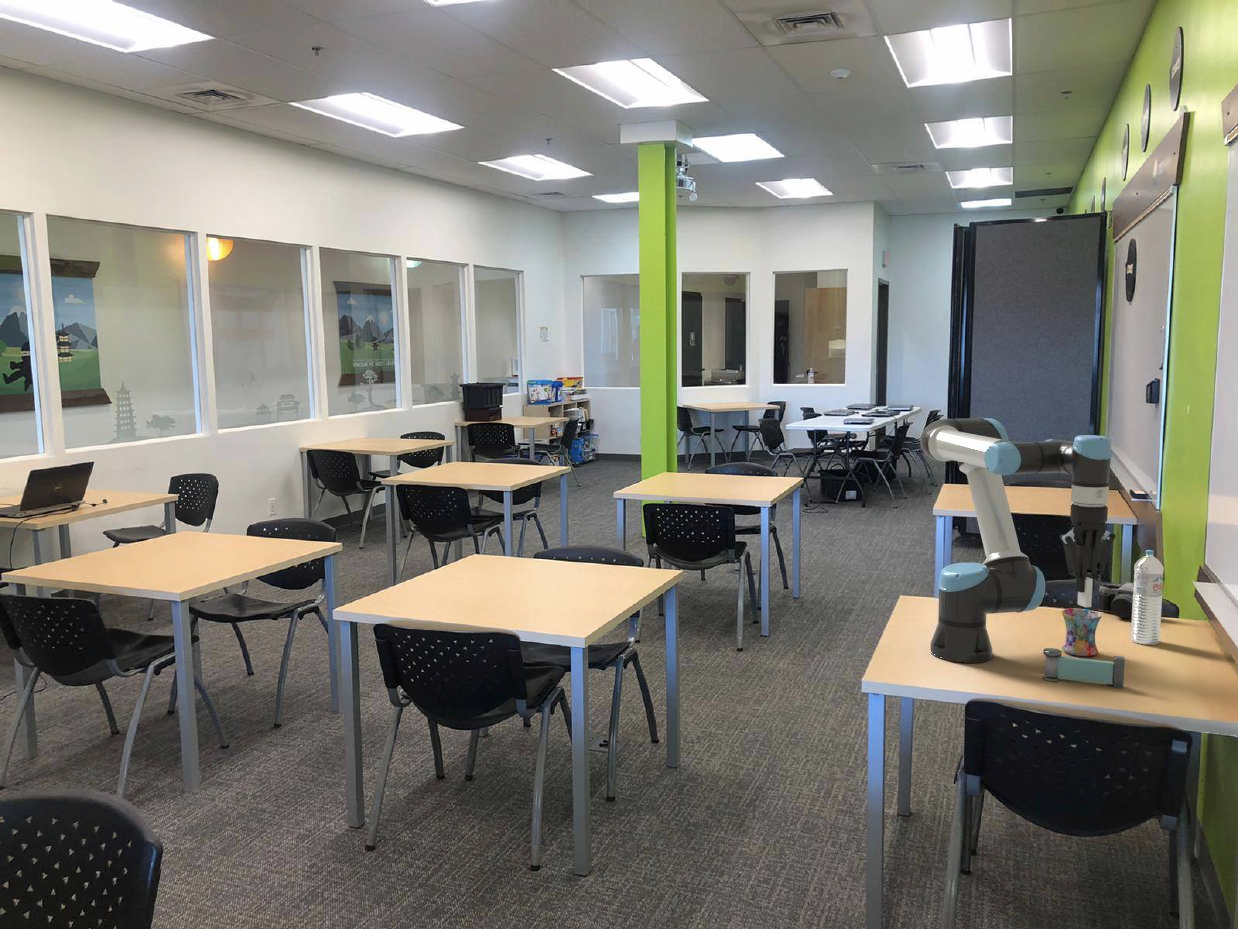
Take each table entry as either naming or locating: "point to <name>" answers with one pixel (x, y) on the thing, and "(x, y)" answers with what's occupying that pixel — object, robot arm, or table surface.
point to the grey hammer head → (1052, 653)
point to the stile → (1118, 672)
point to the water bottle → (1147, 600)
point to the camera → (1116, 599)
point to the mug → (1080, 631)
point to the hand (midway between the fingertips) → (1084, 605)
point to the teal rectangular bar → (1079, 669)
